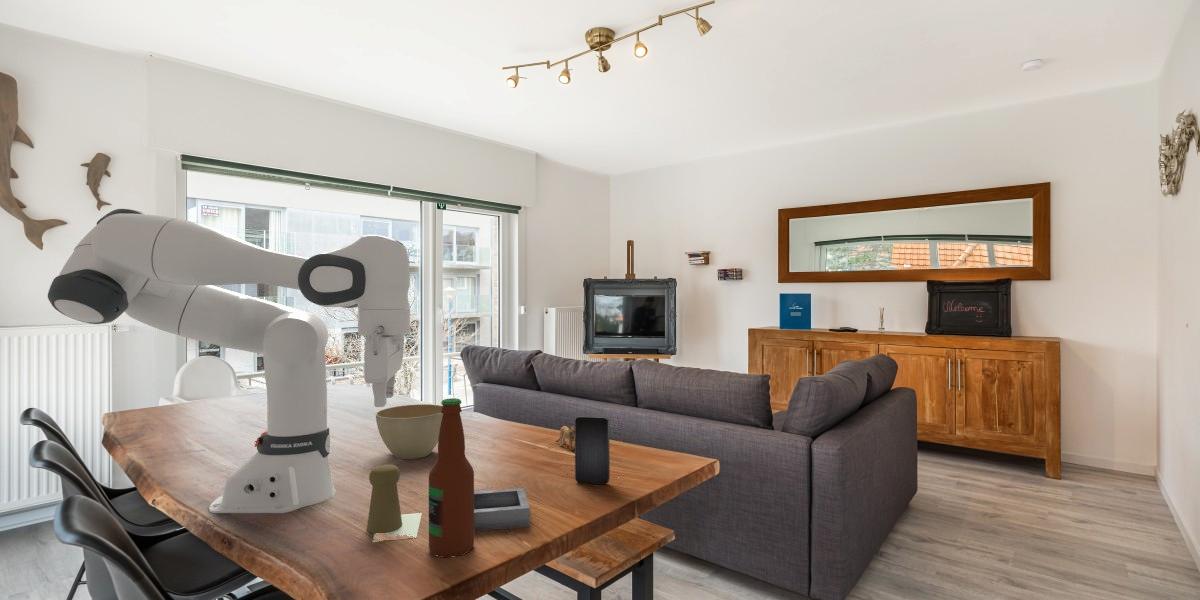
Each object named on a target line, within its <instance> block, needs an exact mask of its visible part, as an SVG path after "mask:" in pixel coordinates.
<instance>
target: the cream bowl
mask: <svg viewBox="0 0 1200 600" xmlns="http://www.w3.org/2000/svg"><path fill="white" fill-rule="evenodd" d="M442 407H443V405H440V404H431V403H429V404H427V403H426V404H423V403H422V404H421V403H420V404H417V403H416V404H408V405H406V404H404V405H397V406H396V405H395V406H391V407H387V408H384V409H380V410H378V411H376V413H375V420H376V426H377V430H378V433H379V435H380V438H381V440H382V442H383V444H384V445H385V446H386V447H387V450H389V452H390V453H391V454H392V455H393V456H394V457H396V458H397V459H400V460H416V459H421V458H424V457H427V456H429V455H430V454H431V453H432V451H433V450H434V449H435V448H436V446H437V445H438V438H439V432H440V425H441V420H442V417H443V413H441V410H442Z"/></svg>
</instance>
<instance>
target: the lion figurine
mask: <svg viewBox="0 0 1200 600" xmlns="http://www.w3.org/2000/svg"><path fill="white" fill-rule="evenodd" d="M566 440H568V443H569V444H568V445H569V451H573V450H574V449H575V443H574V442H575V424H573V426H570V427H568V426H567V425H564V426H562V427H561V428H560V431H559V438H558V439H557V440H555V442H556V443H559V447H563V446H564V444H567V441H566ZM573 443H574V447H573Z"/></svg>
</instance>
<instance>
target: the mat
mask: <svg viewBox="0 0 1200 600" xmlns="http://www.w3.org/2000/svg"><path fill="white" fill-rule="evenodd" d="M422 516H423V512H417V513H415V512H414V513H406V514H404V513H403V514H402V513H401V518H402V526H401V527H400V528H399V529H397V530H395V531H392V532H388V533H389V534H390V535H391V534H392V535H391V536H394V535H395V536H397V535H396V534H399V535H400V536H401V535H402V536H403V535H405V534H406V535H407V536H409V537H410V536H413V537H415V538H416V537H417V536H418V532H419V528H420V523H421V520H422ZM393 533H394V534H393ZM384 534H385V535H387V534H386V533H384ZM384 534H383V535H384ZM389 534H388V535H389ZM409 534H410V535H409ZM374 535H376V533H373V536H372V537H373V538H372V539H374V538H375V536H374ZM385 535H384V536H385ZM376 536H377V535H376ZM395 536H394V537H395ZM385 539H386V538H385ZM416 539H417V538H416ZM412 540H415V539H414V538H413V539H412ZM380 542H381V541H380ZM380 542H379V540H378V541H376V538H375V539H374V540H372V543H380Z"/></svg>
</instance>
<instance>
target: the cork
mask: <svg viewBox="0 0 1200 600" xmlns="http://www.w3.org/2000/svg"><path fill="white" fill-rule="evenodd" d="M400 475H401V472H400V469H399V467H398V466H396V465H394V464H381V465H377V466H374V467H373V468H372V469H371V470H370V472H369V475H368V476H369V477H368V480H369V482H370V485H371V486H372V490H371V495H370V496H371V497H370V503H369V510H368V517H367V518H368V519H367V525H366V531H367V532H368V533H371V534H374V533H388V532H392V531H395V530H397V529H399V528H400V527H401V526H402V518H401V515H402V511H401V506H400V498H399V493H398V492H399V491H398V484H397V483H398V482H399V480H400Z"/></svg>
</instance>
